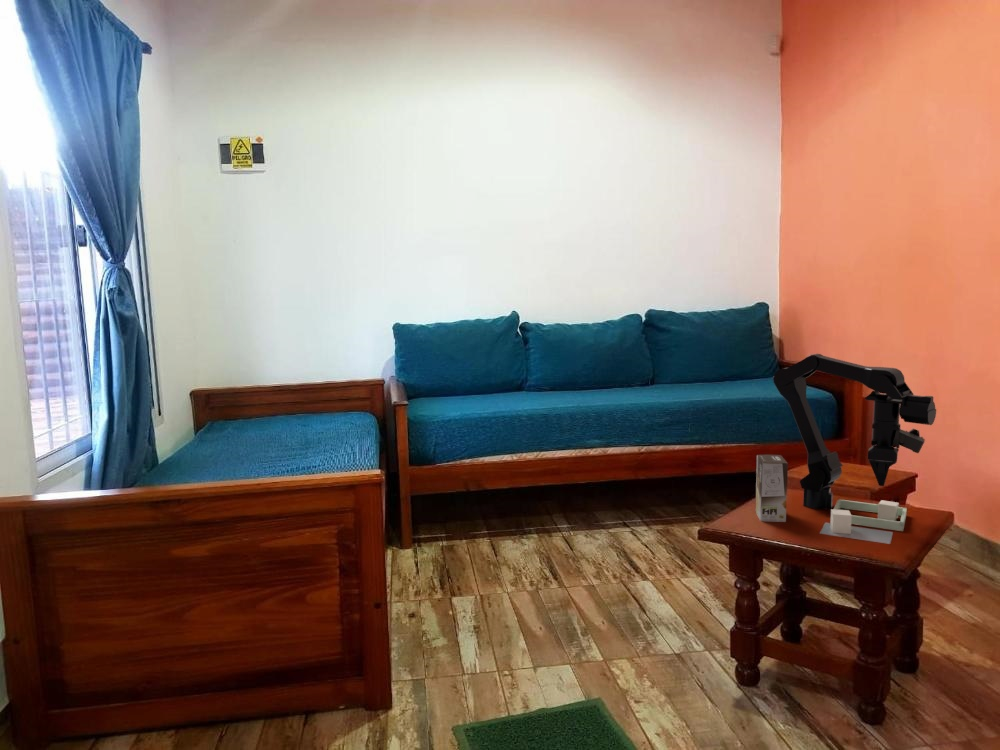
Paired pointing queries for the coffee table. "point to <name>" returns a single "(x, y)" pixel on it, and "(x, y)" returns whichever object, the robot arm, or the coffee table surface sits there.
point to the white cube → (840, 521)
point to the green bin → (872, 521)
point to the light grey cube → (888, 510)
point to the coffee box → (771, 488)
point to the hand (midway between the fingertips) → (882, 481)
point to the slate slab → (861, 534)
